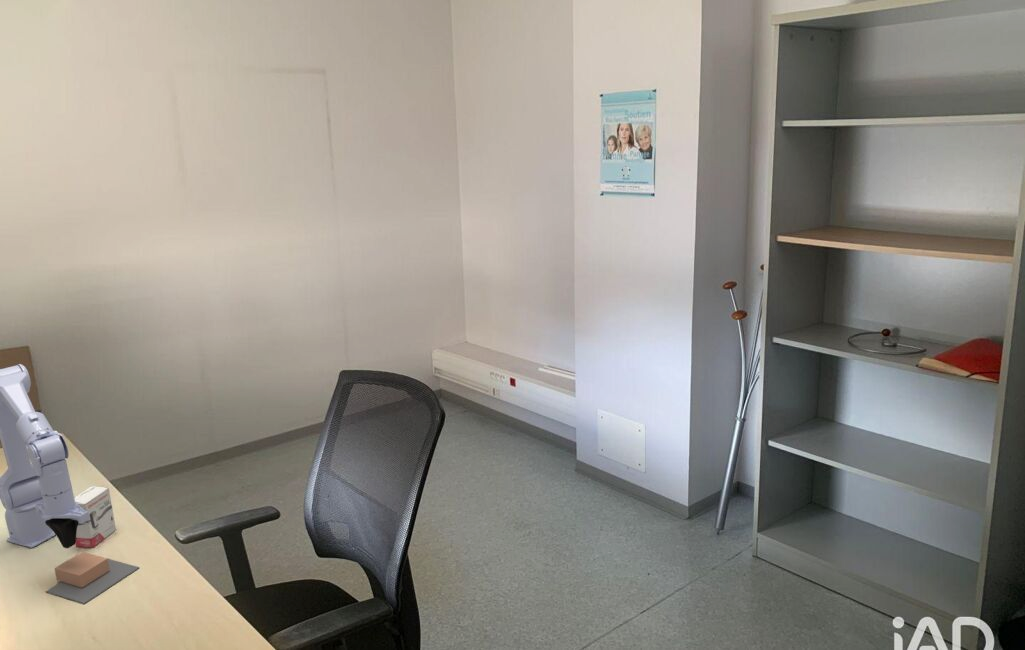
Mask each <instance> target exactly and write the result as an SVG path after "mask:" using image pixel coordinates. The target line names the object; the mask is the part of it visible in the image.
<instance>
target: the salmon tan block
mask: <svg viewBox="0 0 1025 650" xmlns="http://www.w3.org/2000/svg"><path fill="white" fill-rule="evenodd" d="M108 559H109V558H106V557H104V556H101V555H96V554H93V553H89V552H85V551H81V552H80V553H78V554H76V555H75V556H72V557H71V558H69V559H68V560H66V561H64V562H63V563H60V564H59V565H57V566H55V567H54V568H53V569H54V573H55V578H56V580H57V581H59V582H65V583H68V584H71V585H74V586H78V587H81V588H83V587H84V586H86V585H87V584H89V583H90V582H92V581H94V580H95V579H97V578H98V577H100V576H102V575H103V574H105V573H106V572H108V571H110V568H109V564H108Z"/></svg>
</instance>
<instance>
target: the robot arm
mask: <svg viewBox="0 0 1025 650" xmlns="http://www.w3.org/2000/svg"><path fill="white" fill-rule="evenodd" d="M31 386H32V381H31V377H30V374H29V371H28V369H27V368H26V366H24V365H23V364H22V363H19V364H16V365H13V366H9V367H8V366H7V367H5V368H0V442H1V446H2V450H3V455H4V457H5V461H6V465H7V469H6V471H5V472H4V473H3V474H2V475H1V476H0V502H1V505H2V507H3V508H4V509H5V512H4V519H5V523H6V526H7V527H6V528H7V531H8V535H9V537H8V538H6V542H9V543H13V544H15V545H19V546H20V545H21V546H24V547H27V548H31V549H32V548H35V547H36V546H38V545H40V544H43V543H44V542H45V541H47V540H49V539H51V538H53V537H55V536H56V538H57V539H58V541H59V543H60V544H61V546H62V547H63V548H64V549H69V548H71V547H73V546H74V545H75V546H76V532H77V527H78V523H81V524H82V523H84V522H86V521H88V520H89V519H90V518H89V514H88V511H85V510H83V509H82V508H81V507H80V506H79V505H78V504H77V503H75V499H74V497H75V494H74V491H73V490H74V489H73V486H72V481H71V476H70V473H69V468H68V463H67V460H66V459H68V458H69V456H70V455H69V447H68V445H67V441H66V439H65V438H64V436H63V435H62V434H61V433H60V432H58V431H57V430H54V429H53V427H52V426H51V424H50V423H49V421H48V419H47V418H46V416H45V415H44V414H43V412H39V411H36V410H35V408H34V406H33V404H32V401H31V400H30V397H29V395H28V393H30V389H31Z"/></svg>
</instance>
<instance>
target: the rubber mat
mask: <svg viewBox="0 0 1025 650" xmlns="http://www.w3.org/2000/svg"><path fill="white" fill-rule="evenodd" d="M107 559H108V564H109V568H110V571H108V572H106V573H105V574H103V575H102V576H100V577H98V578H97V579H95V580H94V581H92V582H90V583H89V584H87V585H86V586H84V587H83V588H81V587H78V586H74V585H71V584H68V583H65V582H61V581H59V583H57V584H56V585H54V586H52V587H50V588H49V589H47V590H45V593H46V594H50V595H53V596H56V597H60V598H63V599H66V600H69V601H72V602H74V603H75V602H76V603H79V604H82V605H86V604H88V603H89V602H90V601H92V600H93V599H95V598H97V597H98V596H100V595H101V594H103V593H104V592H106V591H107V590H109V589H110V588H112V587H113V586H115V585H117V584H118V583H120V582H121V581H122V580H124V579H125V578H127V577H129V576H130V575H132V574H133V573H134V571H135V572H136V571H137V570H139V569H140V566H137V565H132V564H129V563H125V562H122V561H118V560H115V559H111V558H107ZM128 575H129V576H128Z"/></svg>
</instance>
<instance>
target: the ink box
mask: <svg viewBox="0 0 1025 650" xmlns="http://www.w3.org/2000/svg"><path fill="white" fill-rule="evenodd" d="M74 499H75V503H77V504H78V505H79V506H80V507H81V508H82V509H83V510H85V511H88V514H89V518H90V519H89V520H88V521H86V522H84V523H82V524H81V523H78V527H77V532H76V543H75V546H76V547H81V548H82V547H83V548H95V547H96V546H97V545H99V544H100V543H101V542H102V541H103V540H105V539H106V538H107V537H109V536H110V535H111V534H113V533H114V532H115V531H117V525H116V521H115V516H114V515H115V514H114V510H113V504H112V500H111V499H112V498H111V494H110V487H106V486H96V485H92V486H90V487H88V488H86V489H85V490H83V491H82V492H80V493H79V494H77V495H76V496H75V495H74Z"/></svg>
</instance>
